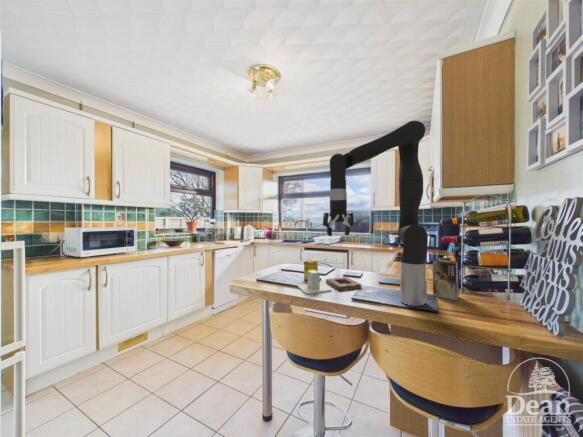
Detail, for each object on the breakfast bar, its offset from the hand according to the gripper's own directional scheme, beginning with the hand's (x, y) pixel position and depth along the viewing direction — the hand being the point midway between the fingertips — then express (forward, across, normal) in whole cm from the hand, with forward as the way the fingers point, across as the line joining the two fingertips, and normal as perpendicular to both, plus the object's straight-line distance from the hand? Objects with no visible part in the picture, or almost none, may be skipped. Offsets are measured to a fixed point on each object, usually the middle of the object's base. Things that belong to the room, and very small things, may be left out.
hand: (338, 235), depth 105 cm
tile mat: (+28, -6, +15) cm, 32 cm away
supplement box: (+28, -1, +30) cm, 41 cm away
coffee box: (+28, +46, -15) cm, 56 cm away
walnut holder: (+28, +11, +15) cm, 34 cm away
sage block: (+27, -6, +15) cm, 32 cm away
